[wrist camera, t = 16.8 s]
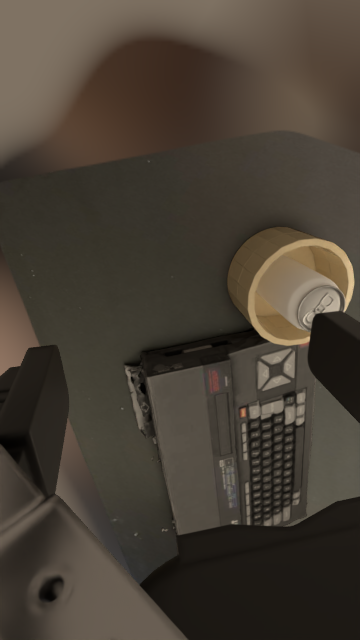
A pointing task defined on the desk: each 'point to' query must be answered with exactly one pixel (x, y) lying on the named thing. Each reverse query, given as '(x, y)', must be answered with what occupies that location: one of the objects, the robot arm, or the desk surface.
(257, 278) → the tan round bowl
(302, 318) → the can
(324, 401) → the desk surface
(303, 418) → the vintage computer
